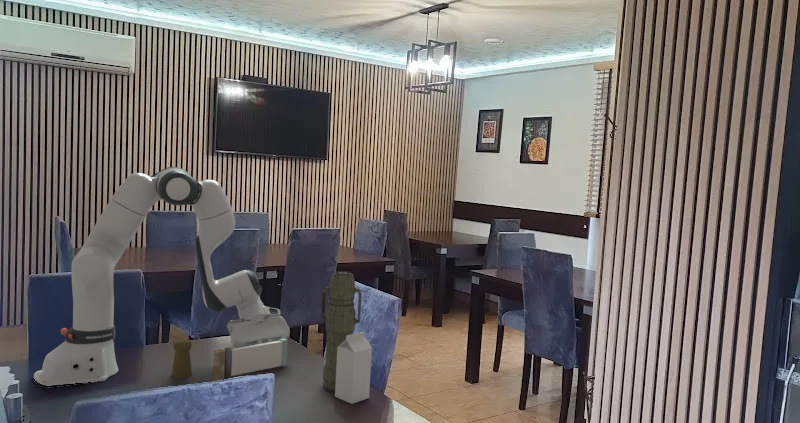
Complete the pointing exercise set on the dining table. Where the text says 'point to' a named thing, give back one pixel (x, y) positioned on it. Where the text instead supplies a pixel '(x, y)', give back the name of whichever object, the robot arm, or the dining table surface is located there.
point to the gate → (255, 357)
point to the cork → (182, 359)
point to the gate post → (218, 364)
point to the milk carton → (353, 369)
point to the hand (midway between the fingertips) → (267, 353)
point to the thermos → (338, 320)
